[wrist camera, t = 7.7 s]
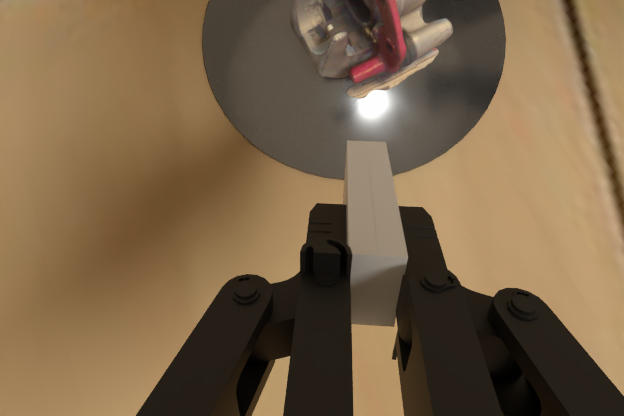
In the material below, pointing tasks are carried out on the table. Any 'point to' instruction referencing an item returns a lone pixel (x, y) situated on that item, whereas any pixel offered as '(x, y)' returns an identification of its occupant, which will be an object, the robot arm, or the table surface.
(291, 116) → the disc
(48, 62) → the table surface
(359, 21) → the brake caliper
